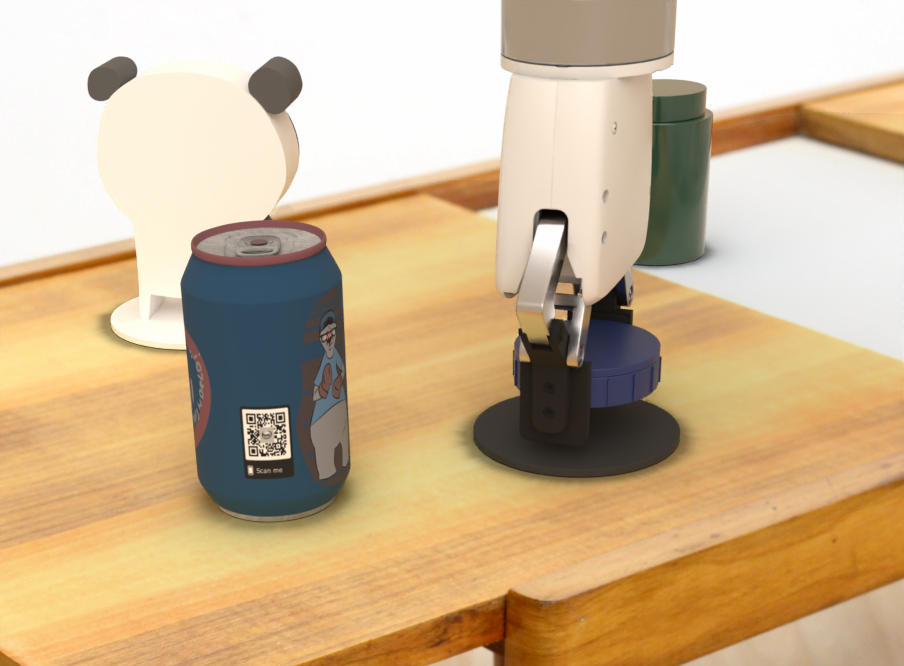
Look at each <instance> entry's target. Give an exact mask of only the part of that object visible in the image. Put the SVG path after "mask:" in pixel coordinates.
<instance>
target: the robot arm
mask: <svg viewBox="0 0 904 666" xmlns="http://www.w3.org/2000/svg"><path fill="white" fill-rule="evenodd" d="M677 5H678V0H500V65H499V66H501V69H503V70H504V71H506V72H509V73H512V74H511V75H510V79H509V85H508V90H507V95H506V96H507V97H506V98H507V99H506V104H505V111H504V118H503V119H504V120H503V126H502V127H503V129H502V138H501V150H500V164H499V177H498V195H497V215H496V216H497V217H496V237H495V238H496V239H495V242H496V243H495V259H494V260H495V263H494V287H495V289H496V291H497V292H498V294H499V295H500V296H501V297H502V298H503V299H513V298H514V297H516V296H517V298H516V302H515V315H516V319H517V320H518V323H519V326H520V327H518V329H517V334H518V336H521V340H520V347H519V360H520V391H519V396H520V435H521V437H522V438H523V439H525V440H530V441H538V442H546V443H553V444H561V445H569V446H577V447H580V446H583V445H584V444H585V443H586V441H587V440H588V438H589V424H590V394H591V363H592V362H586V361H584V355H585V348H586V341H587V335H588V328H589V321H590V319H596V320H608V321H616V322H621V323H626V324H630V325H634V309H630V308H631V306H632V305H633V300H634V293H635V287H634V286H635V285H634V276H633V265H635V264H634V263H635V262H636V260H637V259H638V258H639V256H640V254H641V252H642V250H643V248H644V245H645V241H646V235H647V227H648V218H649V206H650V190H651V164H652V100H653V96H654V95H653V92H652V79H653V74H655V73H656V72H662V71H665V70H668V69H670V68H671V67H672V66H674V61H675V60H674V59H675V49H676V48H675V47H676V29H677V28H676V27H677V10H678V9H677V7H678V6H677ZM559 283H561V284H572V290H573V291H572V292H573V293H563V292H557V288H558V286H559V285H558V284H559ZM622 307H624V308H622ZM556 310H559V311H566V316H567V317H566V320H572V322H571V329H570V335H569V334H568V331H567V328H566V326H565V324H564V321H563V320H564V319H562V318H555V317H556V314H557V311H556Z"/></svg>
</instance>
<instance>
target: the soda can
mask: <svg viewBox="0 0 904 666" xmlns="http://www.w3.org/2000/svg"><path fill="white" fill-rule="evenodd" d="M327 241H328V239H327V234H326V232H325V231H324V230H323V229H322V228H320V227H318V226H316V225H312V224H310V223H305V222H301V221H293V220H285V219H272V220H256V221H245V222H237V223H231V224H226V225H221V226H217V227H214V228H210V229H207V230H205V231H202V232H200V233H198V234H197V235H195V236H194V237H193V239H192V241H191V250H192V254H191V256H190V259H189V261H188V264H187V266H186V268H185V271H184V273H183V276H182V279H181V283H180V286H181V297H182V308H183V320H184V331H185V342H186V350H185V351H186V352H185V353H186V362H187V375H188V383H189V396H190V406H191V407H190V409H191V417H192V430H193V439H194V440H193V441H194V448H195V449H194V451H195V452H194V453H195V462H196V472H197V473H196V474H197V478H198V480H199V483H200V484H201V486H202V488H203V489H204V491H205V492H206V493H207V494H208V496H209V497H210V498H211V500H212V501H213V503H215V505H216V506H217V507H218V508H219V510H221V511H222V512H224V513H225V514H228V515H229V516H231V517H234V518H237V519H240V520H246V521H250V522H252V521H253V522H262V523H264V522H265V523H268V522H270V523H273V522H274V523H275V522H286V521H292V520H297V519H301V518H306V517H309V516H312V515H314V514H317V513H319V512H321V511H323V510H324V509H325V508H327V507H329V506H330V505H331V504H332V503H333V502H334V501H335V499H336V497H337V496H338V494H339V492H340V490H341V489H342V487H343V485H344V484H345V482H346V480H347V478H348V476H349V474H350V470H351V466H352V464H351V444H350V422H349V399H348V378H347V374H348V373H347V353H346V332H345V310H344V291H343V289H344V288H343V286H344V285H343V274H342V271H341V268H340V267H339V265H338V263H337V261H336V260H335V258H334V256H333V254H332V253H331V251H330V249H329V247H328V246H327Z"/></svg>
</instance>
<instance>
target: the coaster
mask: <svg viewBox="0 0 904 666" xmlns="http://www.w3.org/2000/svg"><path fill="white" fill-rule="evenodd" d="M472 429H473V432H472V435H473V441H474V443H475V445H476V447H477V448H478V449H479V450H480V451H481V452H482V453H483V454H485V455H486V456H488V457H489V458H490V459H492V460H495V461H496V462H498V463H499V464H503V465H505V466H507V467H510V468H513V469H517V470H521V471H525V472H528V473H533V474H540V475H545V476H555V477H567V478H569V477H571V478H593V477H606V476H614V475H621V474H626V473H631V472H635V471H639V470H642V469H645V468H649V467H651V466H653V465H656V464H658V463H660V462H662V461H663V460H665V459H667V458H668V457H669V456H671V455H672V454H673V453H674V452H675V451H676V449H677V448H678V446H679V443H680V440H681V428H680V425H679V423H678V421H677V419H676V418H675V417H674V416H673V415H672V414H670V412H668V411H667V410H665V409H664V408H662V407H660V406H658V405H656V404H654V403H651V402H649V401H647V400H645V399H644V400H643V399H640V400H638V401H635V402H632V403H628V404H624V405H619V406H612V407H602V408H590V424H589V438H588V440H587V441H586V443H585V444H584V445H583V446H580V447H577V446H569V445H561V444H553V443H546V442H538V441H530V440H525V439H523V438H522V437H521V435H520V395H517V396H513V397H509V398H507V399H504V400H501V401H499V402H497V403H495V404H493V405H491V406H489V407H487V408H486V409H485V410H483V411H482V412H480V414H479V415H478V416H477V417H476V419H475V421H474V423H473V428H472Z"/></svg>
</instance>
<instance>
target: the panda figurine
mask: <svg viewBox="0 0 904 666" xmlns="http://www.w3.org/2000/svg"><path fill="white" fill-rule="evenodd" d="M86 86H87V92H88V95H89V97H90V98H91V99H92V100H94V101H96V102H105V101H106V103H105V105H104V108H103V109H102V110H103V111H102V114H101V117H100V122H99V125H98V132H97V137H96V138H97V139H96V164H97V169H98V173H99V177H100V180H101V183H102V186H103V187H104V190H105V191H106V193H107V195H108V197H109V198H110V200H111V201H112V203H113V205H114V206H115V207H116V208H117V209H118V210H119V212H121V214H123V215H124V216H125V217H126V218H128V219H129V220H131V222H132V227H133V236H134V246H135V255H136V265H137V277H138V278H137V279H138V296H136V297H134V298H132V299H129V300H127V301H126V302H123V303H122V304H120V305H119V306H118V307H117V308H115V310H114V311H113V312H112V314H111V315H110V325H111V330H112V331H113V332H114V334H115V335H116V336H118V337H120V338H121V339H123V340H125V341H127V342H130V343H132V344H136V345H140V346H146V347H149V348H157V349H165V350H183V351H184V350H185V351H186V342H185V331H184V320H183V308H182V297H181V286H180V283H181V279H182V276H183V273H184V271H185V268H186V266H187V264H188V261H189V259H190V256H191V254H192V250H191V241H192V239H193V237H194V236H195V235H197V234H198V233H200V232H202V231H205V230H207V229H210V228H214V227H217V226H221V225H226V224H231V223H237V222H245V221H256V220H273V218H272V217H271V216H270V213H271V212H272V211H273V210H274V208H276V206H277V205H278V203H279V202H280V201H281V200H282V199H283V197H284V196H285V195H286V193H287V192H288V191H289V189H290V187H291V186H292V184H293V181H294V180H295V177H296V175H297V172H298V170H299V163H300V142H299V137H298V134H297V129H296V127H295V125H294V122H293V120H292V118H291V116H290V115H289V113H288V112H287V109H288V108H289V107H290V106H291V105H292V104H293V103H294V101H296V100H297V99H298V98H299V96H300V94H301V93H302V91H303V86H304V85H303V79H302V75H301V73H300V70H299V68H298V67H297V65H296V64H295V63H294V62H293V61H291V60H290V59H288V58H286V57H283V56H279V55H277V56H273V57H271V58H270V59H268V60H267V61H266V62H265V63H264V64H263V65H261V66H259V68H258V69H256V70H255V71H254V72H253V73H252V72H250V71H249V70H247V69H245V68H242V67H240V66H237V65H234V64H230V63H225V62H220V61H213V60H202V59H201V60H200V59H199V60H198V59H197V60H196V59H194V60H180V61H179V60H178V61H172V62H167V63H161V64H158V65H155V66H152V67H150V68H148V69H146V70H144V71H143V72H142V73H140V74H139V75H138V66H137V64H136V62H135V61H134V60H133V59H132V58H131V57H128V56H115V57H113V58H110V59H108V60H106V61H105V62H104V63H102V64H100V65H99V66H97V67H95V68H93V69H92V70H91V71H90V72H89V74H88V77H87V85H86Z"/></svg>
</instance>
